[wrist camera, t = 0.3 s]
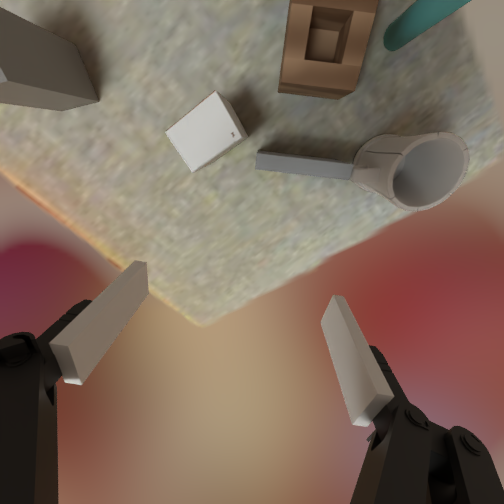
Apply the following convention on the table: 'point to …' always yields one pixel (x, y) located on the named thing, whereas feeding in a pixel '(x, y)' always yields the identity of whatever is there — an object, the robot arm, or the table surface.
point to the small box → (207, 132)
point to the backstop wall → (303, 165)
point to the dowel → (418, 20)
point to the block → (325, 46)
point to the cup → (412, 168)
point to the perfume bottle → (40, 68)
